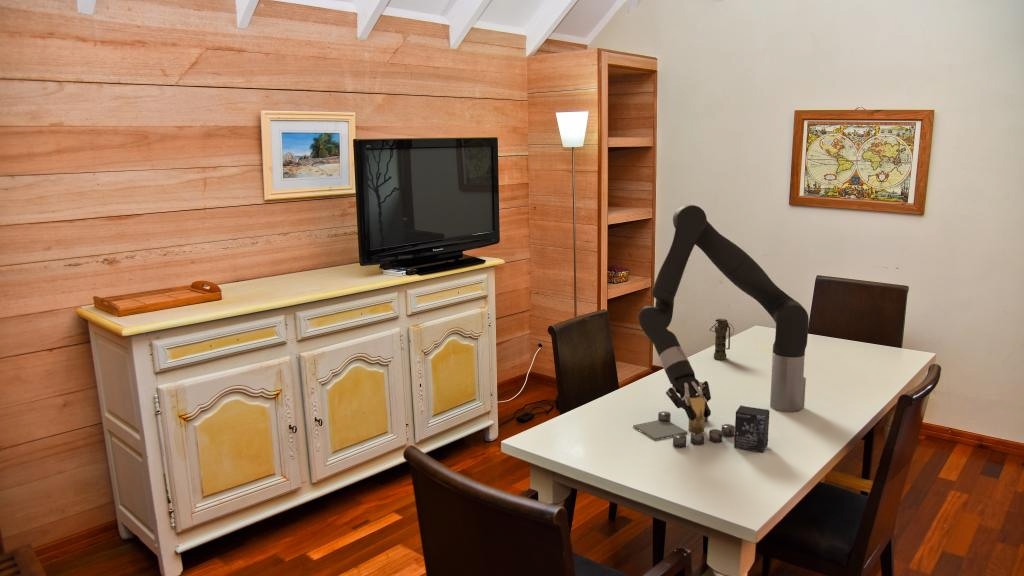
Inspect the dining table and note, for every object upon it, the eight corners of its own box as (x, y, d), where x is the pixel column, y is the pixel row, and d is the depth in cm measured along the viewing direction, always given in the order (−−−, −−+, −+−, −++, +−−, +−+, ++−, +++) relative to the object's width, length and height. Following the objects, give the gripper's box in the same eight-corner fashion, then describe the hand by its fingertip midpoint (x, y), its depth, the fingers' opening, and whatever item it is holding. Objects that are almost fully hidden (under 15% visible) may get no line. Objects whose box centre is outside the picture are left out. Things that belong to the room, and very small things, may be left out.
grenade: (707, 359, 290) (708, 320, 287) (714, 355, 295) (715, 317, 292) (729, 363, 285) (730, 323, 282) (736, 359, 289) (737, 320, 286)
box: (733, 448, 210) (735, 411, 208) (738, 440, 215) (740, 404, 213) (763, 453, 207) (765, 416, 204) (768, 446, 211) (769, 409, 209)
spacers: (694, 412, 237) (694, 404, 236) (742, 437, 217) (742, 429, 217) (637, 424, 229) (637, 416, 228) (681, 451, 209) (681, 442, 209)
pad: (664, 420, 231) (664, 418, 231) (687, 433, 221) (687, 431, 221) (633, 427, 227) (633, 425, 226) (654, 440, 217) (654, 438, 217)
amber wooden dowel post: (697, 426, 226) (698, 393, 224) (707, 431, 222) (708, 398, 220) (685, 429, 224) (686, 396, 222) (694, 434, 220) (695, 401, 218)
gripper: (661, 362, 223) (686, 416, 214) (702, 355, 228) (727, 407, 220) (650, 375, 229) (674, 427, 220) (690, 368, 234) (715, 419, 226)
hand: (701, 417), depth 220 cm, fingers closed on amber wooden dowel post, 4 cm apart
